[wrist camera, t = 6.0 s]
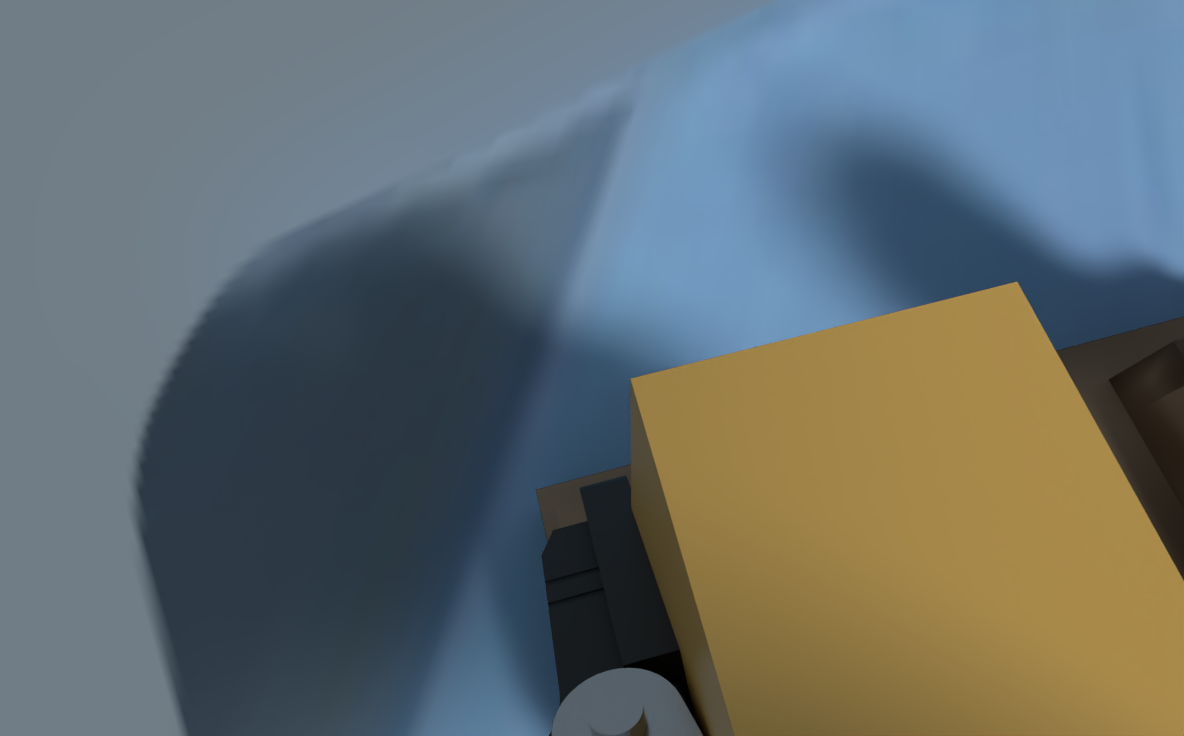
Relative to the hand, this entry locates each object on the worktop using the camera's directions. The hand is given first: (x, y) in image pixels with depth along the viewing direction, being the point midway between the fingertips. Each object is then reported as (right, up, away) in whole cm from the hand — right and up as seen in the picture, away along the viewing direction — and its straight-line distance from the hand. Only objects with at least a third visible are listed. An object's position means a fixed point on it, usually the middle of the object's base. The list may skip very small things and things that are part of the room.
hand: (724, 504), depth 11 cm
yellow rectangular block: (+1, -3, +3) cm, 4 cm away
